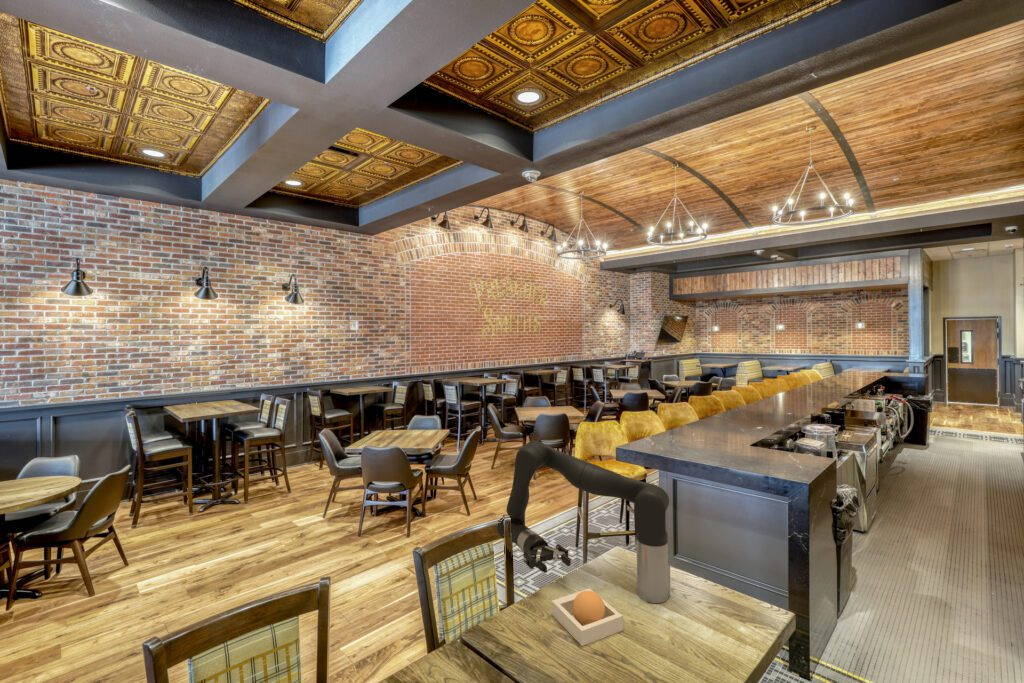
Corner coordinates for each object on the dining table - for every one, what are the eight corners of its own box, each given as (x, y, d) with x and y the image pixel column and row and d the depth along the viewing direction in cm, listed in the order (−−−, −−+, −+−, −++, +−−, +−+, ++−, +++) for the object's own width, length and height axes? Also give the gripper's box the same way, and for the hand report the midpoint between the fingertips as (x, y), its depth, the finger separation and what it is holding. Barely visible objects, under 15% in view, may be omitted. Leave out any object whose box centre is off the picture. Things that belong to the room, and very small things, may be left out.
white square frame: (589, 601, 136) (589, 588, 136) (622, 630, 123) (622, 615, 123) (551, 614, 130) (551, 600, 130) (582, 646, 117) (581, 631, 117)
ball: (592, 580, 131) (612, 598, 123) (591, 609, 132) (611, 629, 124) (566, 589, 127) (585, 608, 119) (566, 619, 128) (584, 640, 120)
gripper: (513, 538, 151) (537, 559, 136) (550, 529, 157) (576, 549, 143) (513, 560, 151) (538, 584, 136) (550, 550, 157) (577, 572, 143)
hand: (557, 566), depth 139 cm, fingers open, 8 cm apart
